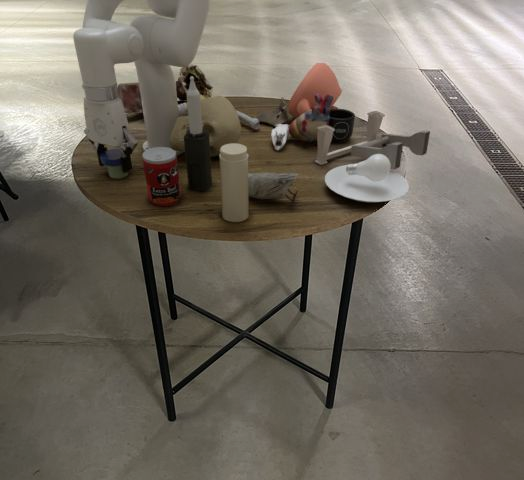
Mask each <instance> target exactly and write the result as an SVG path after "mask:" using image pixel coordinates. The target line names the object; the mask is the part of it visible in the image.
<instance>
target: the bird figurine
mask: <svg viewBox="0 0 524 480" xmlns="http://www.w3.org/2000/svg"><path fill="white" fill-rule="evenodd" d="M275 126H277V127H275ZM273 127H275V128H273V129H271V134H270V137H271V142H272V144H273V147H274V150H275V151H281V150H282V149H283V148H284V147H285V145H286V143H287V141H288V139H289V134H290V132H289V127H290V124H287V123H286V124H285V123H284V124H283V125H282V124H277V125H274V126H273Z"/></svg>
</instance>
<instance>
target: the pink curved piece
mask: <svg viewBox="0 0 524 480" xmlns="http://www.w3.org/2000/svg"><path fill="white" fill-rule="evenodd" d="M342 92H343V90H342V88H341V87H340V84H339V81H338V78H337V77H336V74H335V73H334V71H333V69H331V67H330V66H329V64H327V63H325V62H316V63H315V64H314V65H313V66H312V67H311V68H310V70H309V71H308V72H307V73H306V74H305V76H304V78H303V79H302V80H301V81H300V83H299V85H298V86H297V87H296V89H295V91H294V92H293V94H292V95H291V96H290V99H289V100H288V102H287V110H288V112H289V115H290V116H292V117H293V118H295V119H297V118H298V117H299V116H300V115H302V114H303V113H306V112H308V111H310V110H312V108H313V105H314V104H315V94H320V95H321V96H322V98H324V97H325V96H326V95H327V94H331V95H332V96H333V100H332V103H331V106H330V109H339V107H337V106H335V103H336V102H337V100H338V99H339V98H340V96H341V95H342Z"/></svg>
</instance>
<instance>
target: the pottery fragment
mask: <svg viewBox="0 0 524 480" xmlns="http://www.w3.org/2000/svg"><path fill="white" fill-rule="evenodd" d="M284 100H285V98H284V97H283V96H282V97H281V98H280V100H279V107H278V108H274V109H266V110H262V111H260V112H259V113H257V114H256V115H255V116H253V118H256V119H258V120H259V123H261V122H262V123H265V124H268V125H270V126H273V127H275V128H276V127H277V126H274V125H277V124H282V125H283V124H285V123H286V122H287V121H288V119H289V118H288V103H286V102H285V101H284Z"/></svg>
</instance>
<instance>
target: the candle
mask: <svg viewBox="0 0 524 480" xmlns="http://www.w3.org/2000/svg"><path fill="white" fill-rule="evenodd" d="M190 80H191V81H190V86H189V90H188V92H187V102H186V103H187V104H188V115H187V116H189V124H188V127H190V129H189V130H187V131H186V134H185V135H184V145H185V152H184V154H185V155H184V156H185V163H186V175H187V184H188V186H187V187H188V190H190V191H197V192H198V191H199V192H202V193H203V192H204V193H205V192H207V191H209V190H210V188H212V186H213V179H212V178H213V177H212V162H211V161H212V160H211V157H210V142H209V133H208V132H206V130H204V129H202V118H201V104H200V93H199V91H198V90H197V89H196V86H195V83H194V77H192V76H191V77H190Z"/></svg>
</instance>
